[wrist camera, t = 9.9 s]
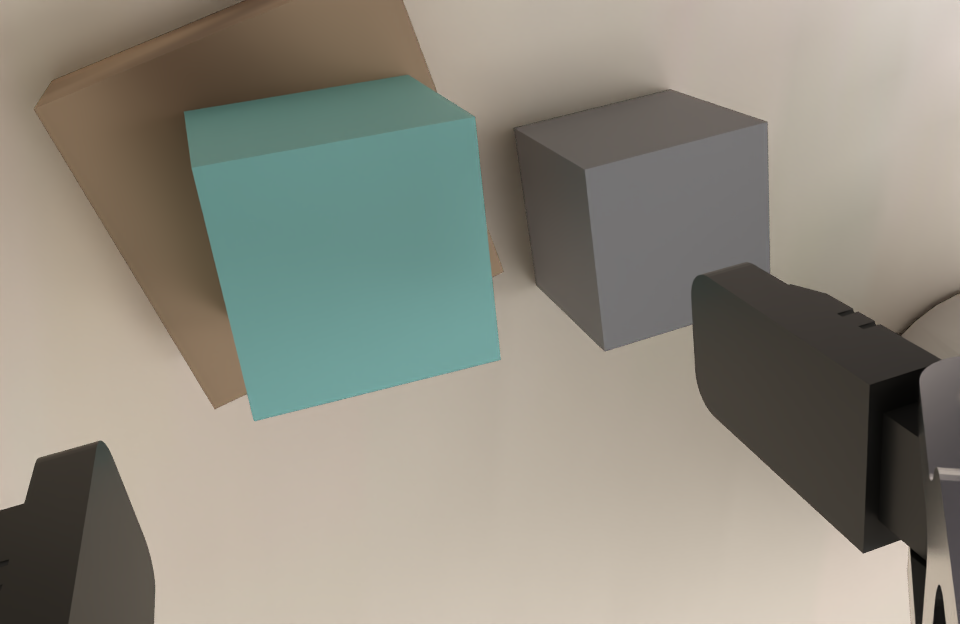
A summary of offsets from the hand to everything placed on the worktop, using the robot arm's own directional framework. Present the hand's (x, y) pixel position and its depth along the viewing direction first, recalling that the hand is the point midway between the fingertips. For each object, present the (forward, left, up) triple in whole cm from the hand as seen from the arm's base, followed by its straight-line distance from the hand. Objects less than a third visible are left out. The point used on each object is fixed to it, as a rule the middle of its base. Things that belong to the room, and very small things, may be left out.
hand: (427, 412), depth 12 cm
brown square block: (0, 0, -14) cm, 14 cm away
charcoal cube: (-9, +3, -14) cm, 17 cm away
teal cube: (0, 0, -10) cm, 10 cm away
